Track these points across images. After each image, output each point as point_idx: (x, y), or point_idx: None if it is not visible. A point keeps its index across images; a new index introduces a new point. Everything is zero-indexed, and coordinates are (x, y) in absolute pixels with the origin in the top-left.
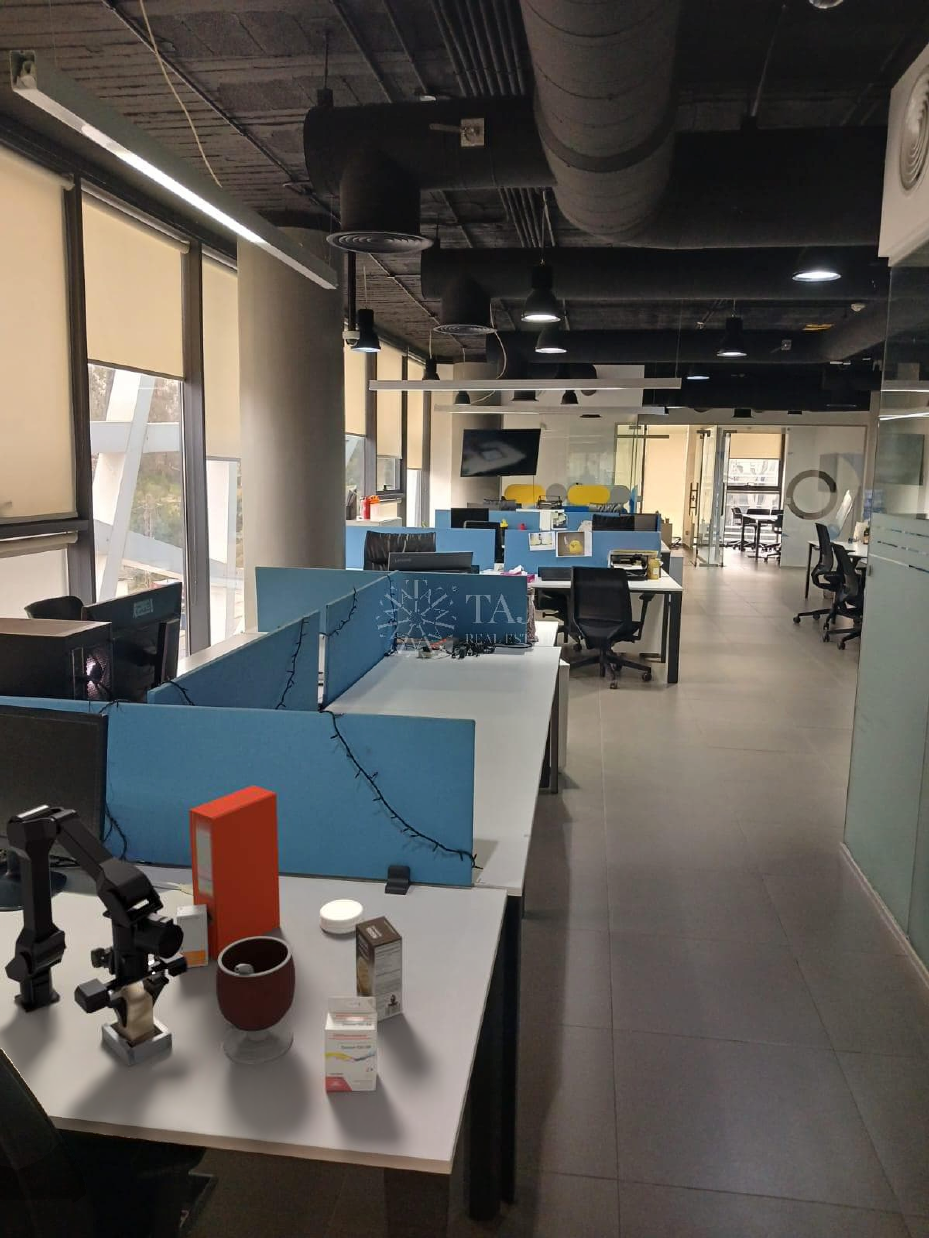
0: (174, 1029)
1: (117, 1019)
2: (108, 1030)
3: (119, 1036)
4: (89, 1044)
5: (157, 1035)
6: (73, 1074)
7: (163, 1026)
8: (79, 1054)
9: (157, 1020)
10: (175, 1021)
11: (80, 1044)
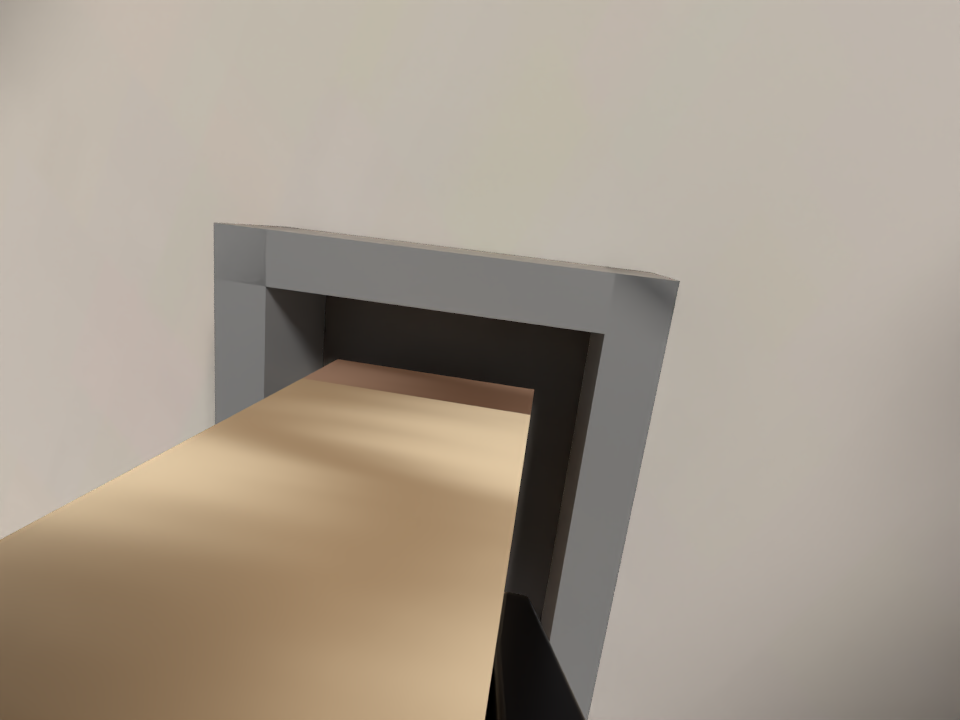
0: (696, 591)
1: (276, 392)
2: (230, 352)
3: None
4: (187, 224)
5: (547, 593)
6: (16, 426)
7: (582, 698)
8: (99, 274)
9: (606, 594)
10: (776, 523)
11: (140, 167)
